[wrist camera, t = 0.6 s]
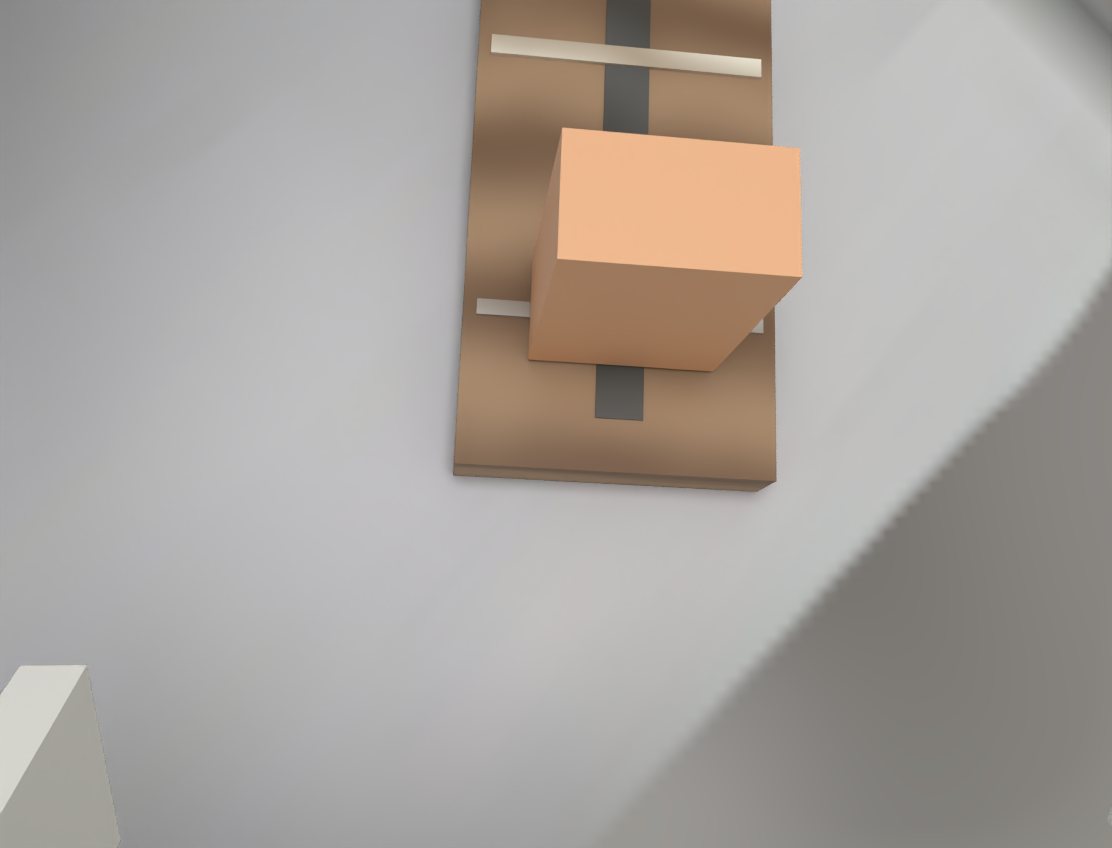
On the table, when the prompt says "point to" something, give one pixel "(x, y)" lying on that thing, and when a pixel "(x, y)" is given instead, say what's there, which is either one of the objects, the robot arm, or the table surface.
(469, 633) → the table surface
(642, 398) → the fader board
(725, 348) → the fader knob
